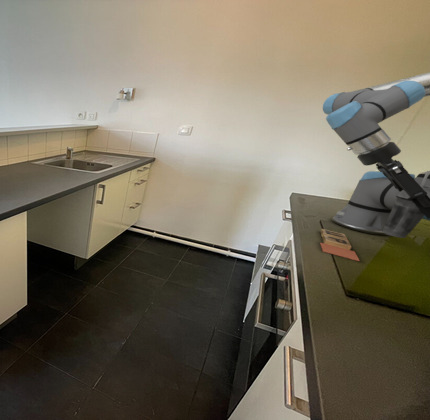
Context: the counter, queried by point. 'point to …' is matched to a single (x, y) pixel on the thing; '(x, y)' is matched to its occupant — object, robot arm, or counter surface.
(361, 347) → the counter surface
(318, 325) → the counter surface
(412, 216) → the beverage cup
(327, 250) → the slot pad
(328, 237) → the oak tile
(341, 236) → the oak tile
